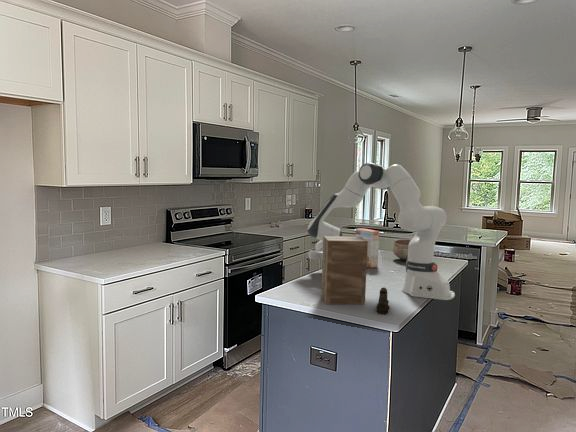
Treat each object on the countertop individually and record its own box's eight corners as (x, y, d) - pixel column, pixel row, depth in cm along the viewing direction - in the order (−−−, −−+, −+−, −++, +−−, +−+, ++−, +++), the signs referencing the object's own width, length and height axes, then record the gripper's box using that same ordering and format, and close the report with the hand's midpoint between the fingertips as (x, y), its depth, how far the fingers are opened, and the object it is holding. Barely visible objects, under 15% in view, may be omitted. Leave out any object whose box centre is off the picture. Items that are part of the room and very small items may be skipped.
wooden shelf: (321, 295, 191) (323, 236, 189) (357, 295, 193) (360, 236, 190) (325, 304, 179) (328, 240, 177) (364, 304, 181) (367, 241, 178)
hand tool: (388, 316, 168) (389, 301, 167) (375, 314, 169) (376, 300, 168) (391, 299, 189) (392, 287, 189) (379, 298, 191) (380, 285, 190)
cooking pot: (395, 255, 289) (396, 237, 288) (426, 258, 281) (427, 239, 280) (388, 262, 266) (389, 242, 265) (420, 265, 259) (422, 245, 257)
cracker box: (378, 267, 252) (380, 230, 250) (370, 268, 248) (372, 231, 246) (361, 262, 263) (363, 227, 261) (353, 263, 260) (355, 228, 258)
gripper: (306, 246, 225) (310, 251, 211) (346, 246, 226) (352, 252, 213) (306, 258, 225) (309, 264, 212) (345, 259, 227) (351, 265, 213)
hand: (331, 258), depth 212 cm, fingers closed on oak slat, 3 cm apart
